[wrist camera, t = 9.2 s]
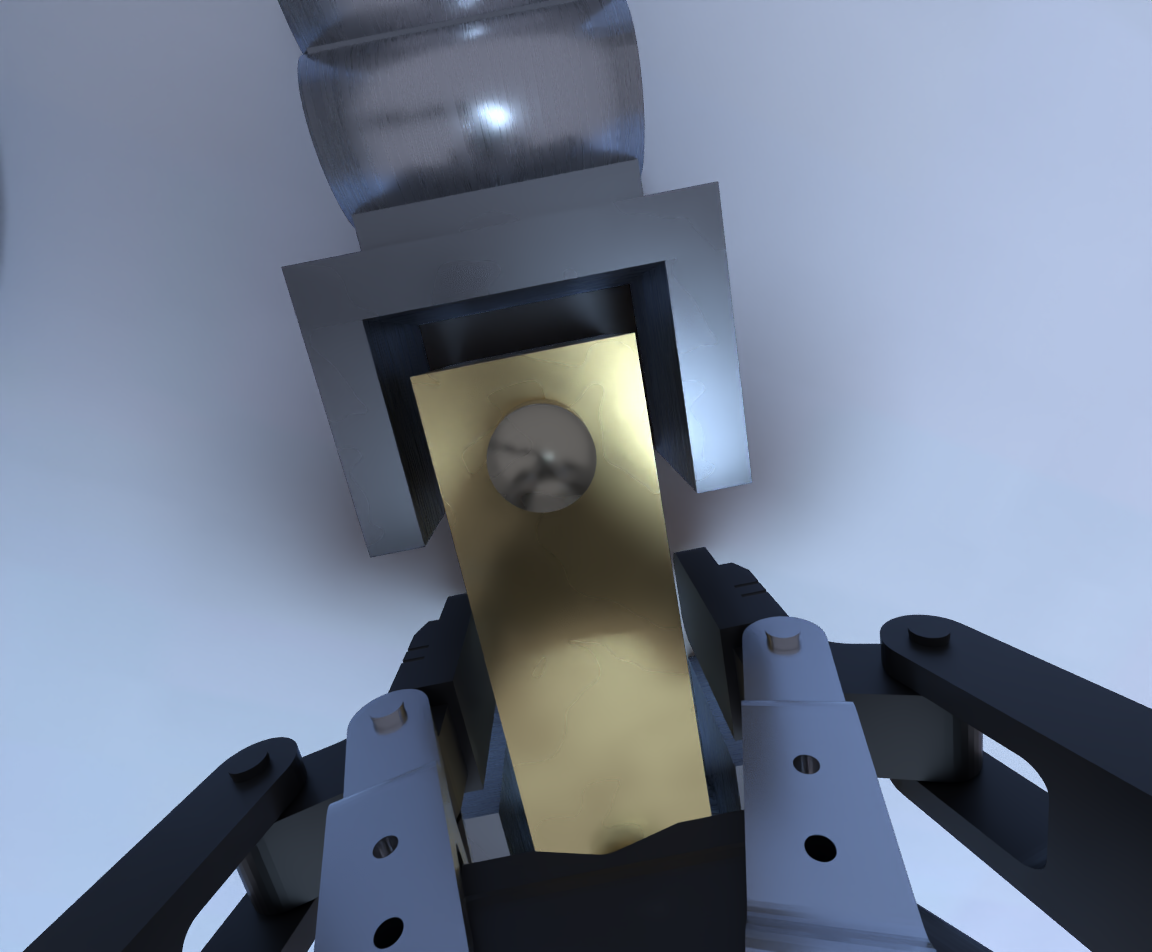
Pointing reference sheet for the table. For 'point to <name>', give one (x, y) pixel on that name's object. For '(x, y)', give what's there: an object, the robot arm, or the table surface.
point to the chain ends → (502, 260)
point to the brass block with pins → (570, 586)
